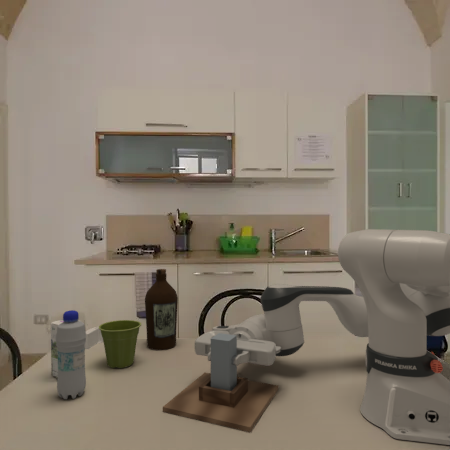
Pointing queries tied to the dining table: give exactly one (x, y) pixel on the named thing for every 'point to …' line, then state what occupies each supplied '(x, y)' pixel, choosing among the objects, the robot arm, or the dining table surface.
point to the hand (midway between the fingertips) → (222, 359)
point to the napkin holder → (93, 337)
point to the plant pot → (120, 342)
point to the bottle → (71, 356)
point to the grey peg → (223, 361)
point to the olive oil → (161, 313)
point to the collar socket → (223, 402)
